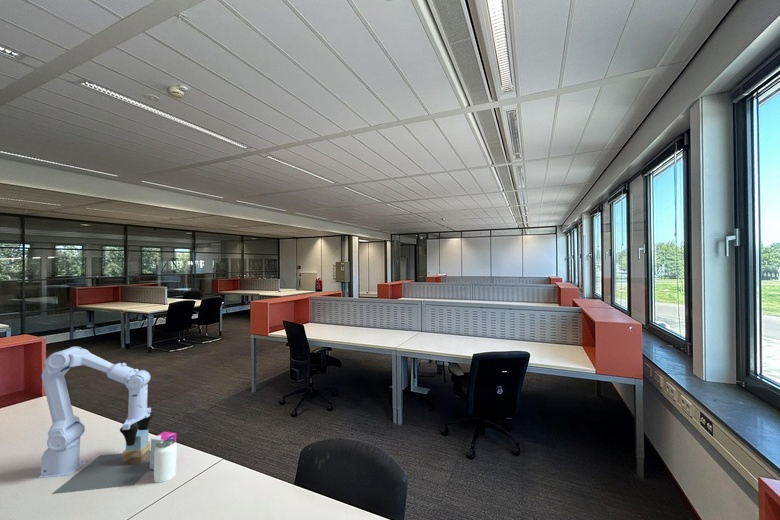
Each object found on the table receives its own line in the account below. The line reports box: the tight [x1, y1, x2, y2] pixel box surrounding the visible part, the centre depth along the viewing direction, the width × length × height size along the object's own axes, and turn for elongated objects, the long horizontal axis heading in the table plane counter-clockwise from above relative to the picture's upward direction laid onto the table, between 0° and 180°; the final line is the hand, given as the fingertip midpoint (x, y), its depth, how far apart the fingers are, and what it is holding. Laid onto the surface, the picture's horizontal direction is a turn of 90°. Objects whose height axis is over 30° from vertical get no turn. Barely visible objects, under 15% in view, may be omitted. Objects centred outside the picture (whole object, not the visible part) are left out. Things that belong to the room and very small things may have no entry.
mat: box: [51, 452, 150, 495], centre depth 116 cm, size 24×22×1 cm
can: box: [153, 439, 178, 483], centre depth 112 cm, size 6×6×12 cm
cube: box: [125, 429, 149, 451], centre depth 122 cm, size 5×5×5 cm
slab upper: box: [122, 441, 151, 459], centre depth 122 cm, size 6×6×2 cm
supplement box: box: [149, 431, 177, 471], centre depth 118 cm, size 6×6×12 cm
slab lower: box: [123, 448, 151, 465], centre depth 122 cm, size 6×6×2 cm
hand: (136, 439), depth 122 cm, fingers open, 7 cm apart
